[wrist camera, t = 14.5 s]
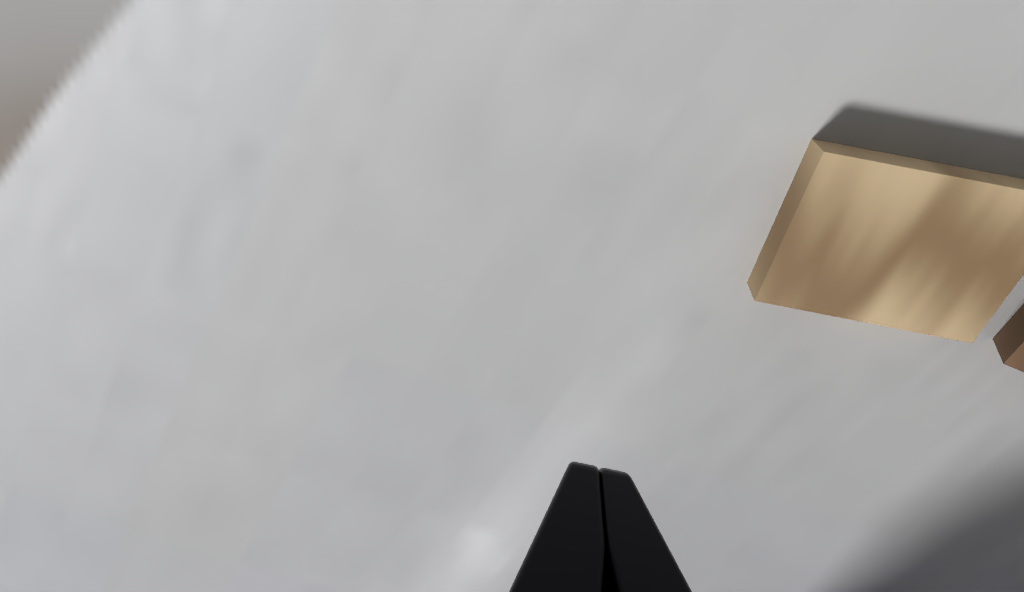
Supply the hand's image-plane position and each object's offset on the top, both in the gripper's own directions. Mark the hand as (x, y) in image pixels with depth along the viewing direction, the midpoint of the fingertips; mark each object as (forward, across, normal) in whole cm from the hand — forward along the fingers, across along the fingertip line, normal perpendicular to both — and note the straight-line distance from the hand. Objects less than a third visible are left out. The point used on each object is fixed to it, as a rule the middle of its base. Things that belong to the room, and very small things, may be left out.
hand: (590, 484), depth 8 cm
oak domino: (+12, -6, 0) cm, 13 cm away
